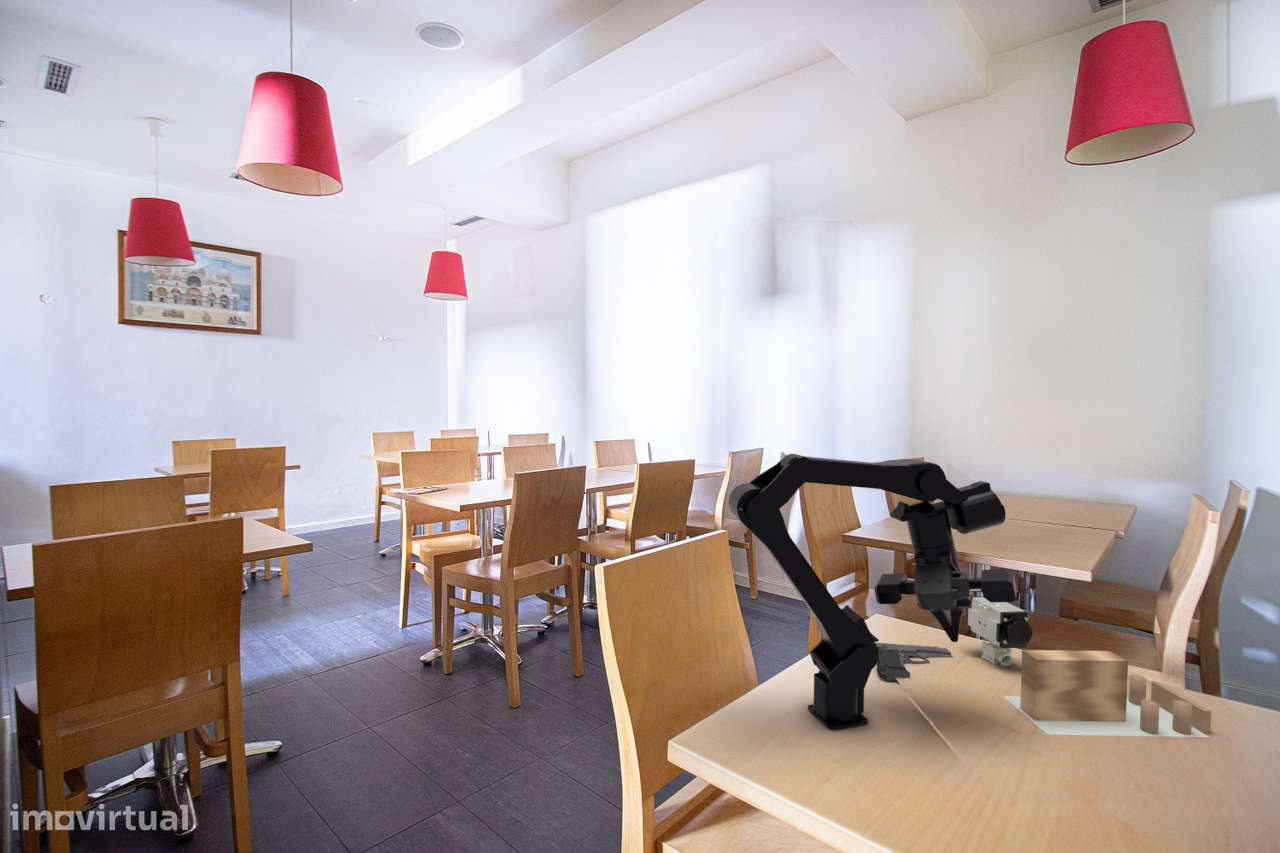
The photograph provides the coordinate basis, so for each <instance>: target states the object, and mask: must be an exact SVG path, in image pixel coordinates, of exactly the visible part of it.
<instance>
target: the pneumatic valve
mask: <svg viewBox="0 0 1280 853" xmlns="http://www.w3.org/2000/svg"><path fill="white" fill-rule="evenodd" d="M1028 616H1029V612H1028V611H1026V610H1024V609H1022V608H1020V607H1017V606H1015V605H1013V604H1011V603H1010V602H989V601H988V600H987V599H985V598H984V597H983V595H981V596H979V595H978V596H974V595H973V601H972V606H971V607H965V624H966V625H968V630H970V631H972V632H973V633H975V634H976V635H978V636H980V637H982V638H983V639H984V640H985V641H982V642H981V648H980V650H981V652H982V655H981V658H982V659H985V660H987V661H989V662H990V663H992V664H993V665H994V664H995V665H1001V666H1003V667H1008V666H1009V667H1010V665H1011V664H1012V663H1013V658H1012V655H1011V654H1012V653H1013V650H1012V649H1018V648H1020V649H1023V648H1028V643H1030V641H1031V639H1032V637H1033V628H1032V626H1031V624H1030V623H1029V617H1028ZM987 641H988V642H987Z"/></svg>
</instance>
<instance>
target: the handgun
mask: <svg viewBox="0 0 1280 853" xmlns="http://www.w3.org/2000/svg"><path fill="white" fill-rule="evenodd" d="M874 643H875V644H876V645H877V647H878V649H879V653H880V655H879V657H878V662H877V664H876V672H877V675H878V677H879V678H880V679H882V680H883V679H884V681H886V682H892V683H893V682H894V683H899V681H898V679H902V678H903V679H907V678H908V679H909V678H911V672H909V670H907V667H906V665H905V664H911V665H926V664H931V661H930V660H928V659H934V658H935V659H940V658H954V656H953V655H952V652H951V651H950V650H949V649H948V648H945V647H938V646H932V645H931V646H930V645H929V646H928V645H913V644H911V645H910V644H897V643H886V642H874ZM913 659H921V660H913Z"/></svg>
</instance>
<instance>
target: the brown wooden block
mask: <svg viewBox="0 0 1280 853" xmlns="http://www.w3.org/2000/svg"><path fill="white" fill-rule="evenodd" d="M1128 666H1129V661H1128V660H1127V659H1125V658H1123V657H1121V656H1120V655H1118V654H1116V653H1114V652H1113V651H1110V650H1063V649H1061V650H1058V649H1057V650H1055V649H1054V650H1051V649H1050V650H1049V649H1048V650H1047V649H1022V650H1021V668H1020V669H1021V670H1020V672H1021V673H1020V674H1021V675H1020V696H1021V703H1020V708H1021V709H1022V710H1023V711H1024V712H1025V713H1026V714H1028V715H1029V716H1030V717H1031V718H1032V719H1034V720H1035V721H1100V722H1126V704H1127V698H1128V677H1129V675H1128V670H1129V667H1128Z"/></svg>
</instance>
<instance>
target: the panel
mask: <svg viewBox="0 0 1280 853" xmlns="http://www.w3.org/2000/svg"><path fill="white" fill-rule="evenodd" d="M1128 677H1129V678H1128V679H1129V681H1128V682H1129V684H1128V697H1127V704H1126V722H1100V721H1035V720H1034V719H1032V718H1031V717H1030V716H1029V715H1028V714H1026V713H1025V712H1024V711H1023V710H1022V709H1021V708H1020V703H1021V695H1020V696H1017V695H1016V696H1014V695H1013V696H1012V695H1009V696H1008V695H1007V696H1006V695H1003V696H1002V697H1003V698H1004V699H1006V701H1008V703H1010V704H1011V705H1013V706H1014V707H1015V708H1016V709H1017V710H1018V711H1019V712H1020V713H1021V714H1022V715H1024V716H1025V717H1026V718H1027V719H1028V720H1029V721H1031V722H1032V723H1033V724H1034V725H1036V726H1037V727H1038V728H1039V729H1040V730H1041V731H1042V732H1044V733H1045V734H1046V735H1047V736H1085V737H1086V736H1087V737H1088V736H1091V737H1093V736H1094V737H1144V738H1145V737H1146V738H1149V737H1154V738H1156V737H1157V738H1159V737H1161V738H1203V739H1204V738H1209V739H1210V736H1208V735H1209V734H1211V729H1212V728H1211V727H1212V726H1211V725H1212V710H1211V709H1208V708H1207V707H1205V706H1203V705H1201V704H1200V703H1198V702H1196V701H1194V700H1193V699H1190V698H1189V697H1187V696H1186V695H1183V694H1182V693H1180V692H1179V691H1177V690H1175V689H1173V688H1171V687H1169V686H1167V685H1166V684H1164V683H1162V682H1160V681H1158V680H1152V681H1151V687H1150V688H1151V690H1150V693H1151V694H1150V699H1148V698H1146V697H1147V678H1146V677H1144V676H1142V675H1139V674H1132V673H1131V674H1129V676H1128ZM1207 734H1208V735H1207Z"/></svg>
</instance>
